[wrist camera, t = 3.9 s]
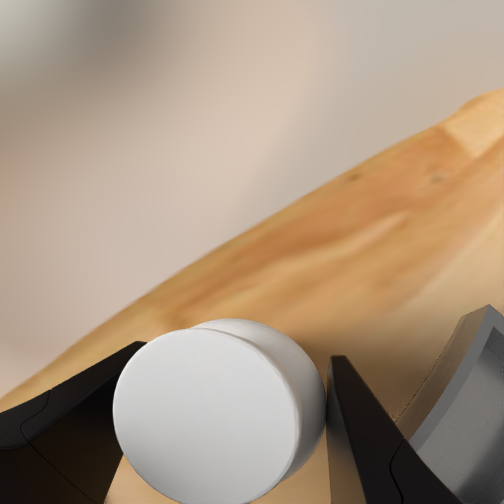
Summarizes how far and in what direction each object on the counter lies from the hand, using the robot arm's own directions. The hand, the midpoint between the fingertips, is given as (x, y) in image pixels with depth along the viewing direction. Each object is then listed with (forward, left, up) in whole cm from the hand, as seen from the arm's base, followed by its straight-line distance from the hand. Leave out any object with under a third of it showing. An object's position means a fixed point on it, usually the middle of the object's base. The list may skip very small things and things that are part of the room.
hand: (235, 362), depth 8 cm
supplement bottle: (-1, +1, -7) cm, 7 cm away
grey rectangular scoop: (-18, -4, -7) cm, 20 cm away
